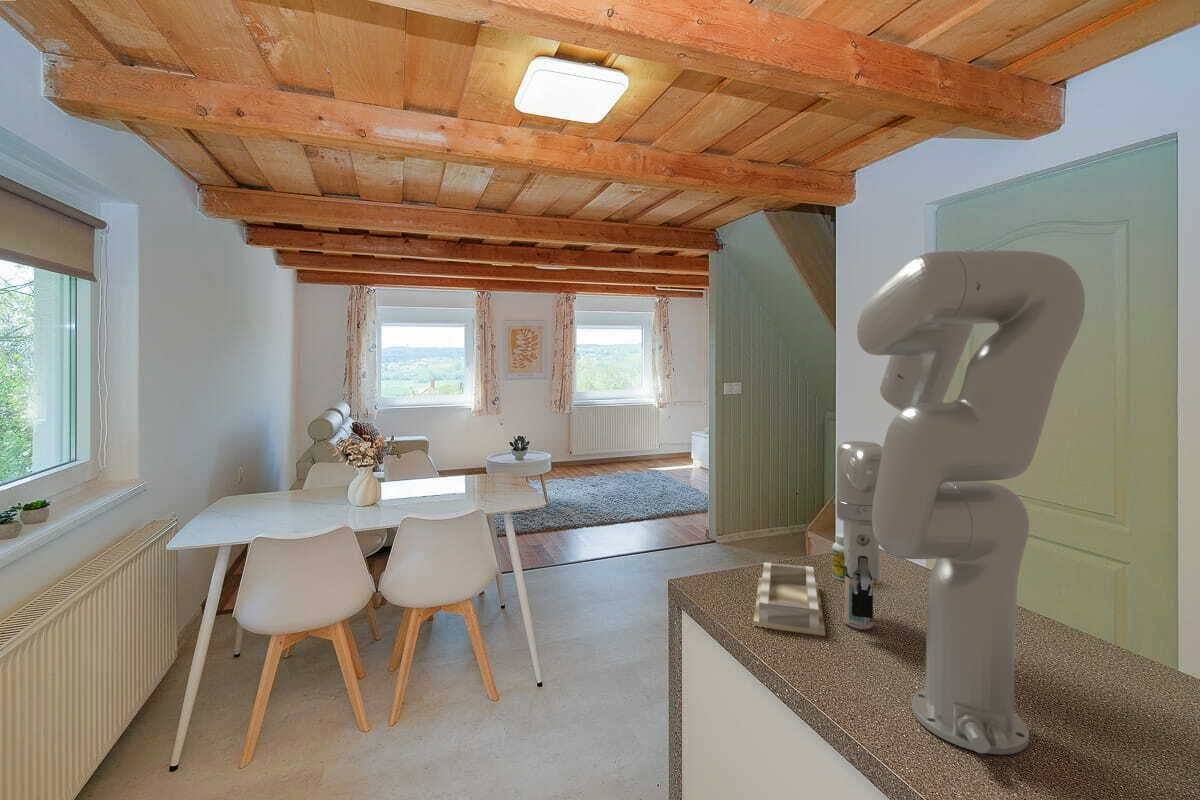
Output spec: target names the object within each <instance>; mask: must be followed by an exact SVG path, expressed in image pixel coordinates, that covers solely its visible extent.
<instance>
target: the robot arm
mask: <svg viewBox="0 0 1200 800" xmlns="http://www.w3.org/2000/svg"><path fill="white" fill-rule="evenodd" d="M1085 309H1086V295H1085V289H1084V285H1083V283H1082V280H1081V278H1080V276H1079V274H1078V273H1077V272H1076V270H1075V269H1074V268H1073V267H1072V265H1070V264H1069V262H1067V261H1065V260H1064V259H1062V258H1059V257H1057V256H1054V255H1051V254H1047V253H1043V252H1038V251H1029V250H1012V249H1011V250H1009V249H1007V250H1002V249H1001V250H967V251H965V250H963V251H961V250H960V251H959V250H956V251H955V250H954V251H953V250H951V251H949V250H947V251H945V250H943V251H935V252H934V251H933V252H927V253H924V254H920V255H919V256H916V257H915V258H913V259H911V260H910V261H909V262H907V263H906V264H904V266H903V267H901V269H899V270H897V272H896V273H895V274H894V275H893V276H892V277H890V278H889V279H888V280H887V281H886V282H884V284H883V285H882V286H881V287H879V289H877V291H875V293H873V294H872V296H871V297H870V299H869V300H868V301H867V302H866V303H865V305H864V307H863V309H862V311H861V312H860V316H859V319H858V321H857V322H858V323H857V325H856V326H857V328H856V336H857V342H858V344H859V346H860V348H861V350H863V351H864V352H865V353H867V354H868V355H874V356H889V360H888V363H887V365H886V368H885V372H884V375H883V378H882V380H881V383H880V388H879V392H880V394H881V395H880V396H882V398H883V400H884V401H885V402H886V403H887V404H889V405H890V406H892V407H893V408H895V409H896V410H898V411H899V412H898V413H897V414H896V415H895V416H894V418H893V419H892V421H891V422H890V424H889V426H888V429H887V430H886V434H885V437H884V438H885V439H884V441H883V445H882V446H881V444H879V443H878V442H877V443H876V442H873V441H866V440H865V441H863V440H862V441H861V440H852V441H851V440H849V441H843V442H842V443H840V444H839V445H838V446H837V450H836V518H837V519H839V520H840V521H842V522H843V532H842V533H843V534H844V558H845V563H846V567H847V572H848V575H849V576H850V577H851V578H852V579H853V587H854V592H852V615H853V616H857V617H865V618H872V616H873V617H874V594H873V595H872V586H871V576H872V579H873V580H874V581H875V582H878V581H879V580H880V579H881V577H880V575H881V574H880V548H882V549H883V551H885V552H886V553H888V554H889V555H890V556H893V557H896V558H899V559H905V560H936V561H935V563H934V565H933V567H932V569H931V571H930V573H929V577H928V580H927V587H926V627H925V631H926V632H925V633H926V634H925V637H926V639H925V688H923V689H921V690H918V691H917V692H915V694H914V695H913V697H912V700H911V709H912V713H913V714H914V717H915V719H916V720H917V721H918V722H919V723H920V724H921V725H922V726H923V727H924V728H925V729H927V730H928V731H929V732H930V733H932V734H934V735H935V736H937V737H939V738H941V739H942V740H944V741H946V742H949V743H951V744H953V745H955V746H957V747H960V748H964V749H967V750H969V751H974V752H976V753H979V754H981V755H982V754H988V755H989V754H990V755H1002V756H1003V755H1012V754H1017V753H1021V752H1022V751H1024V750H1025V749H1026V748H1027V747H1028V745H1029V743H1030V732H1029V731H1030V730H1029V728H1028V726H1027V724H1026V723H1025V722H1024V720H1023V719H1022V718H1021V717H1020V716H1019V715H1018V714H1016V713H1015V709H1014V708H1015V705H1014V704H1015V666H1016V662H1015V661H1016V625H1017V624H1016V622H1017V621H1016V619H1017V603H1018V601H1017V599H1018V584H1019V574H1020V569H1021V564H1022V561H1023V560H1022V559H1023V556H1024V552H1025V549H1026V545H1027V541H1028V538H1029V529H1030V520H1029V514H1028V511H1027V508H1026V506H1025V504H1024V503H1023V501H1022V500H1021V499H1020V497H1019V496H1017V494H1016V493H1015V492H1014V491H1012V490H1010V489H1009V488H1007V487H1005V486H1003V485H1001V484H998V483H997V484H996V483H993V482H989V481H1002V480H1008V479H1013V478H1017V477H1019V476H1021V475H1022V474H1024V473H1025V472H1026V471H1027V470H1028V468H1029V467H1030V466H1031V463H1032V461H1033V459H1034V457H1035V454H1036V451H1037V448H1038V446H1039V441H1040V439H1041V434H1042V431H1043V428H1044V425H1045V421H1046V418H1047V415H1048V412H1049V408H1050V404H1051V401H1052V398H1053V393H1054V390H1055V385H1056V383H1057V380H1058V376H1059V373H1060V371H1061V369H1062V367H1063V364H1064V362H1065V360H1066V358H1067V356H1068V355H1069V352H1070V350H1071V348H1072V346H1073V344H1074V342H1075V340H1076V338H1077V336H1078V333H1079V332H1080V328H1081V325H1082V322H1083V318H1084V314H1085ZM975 324H976V325H977V324H996V325H997V326H998V329H997V330H996V331H994V333H993V334H992V335H990V336H989V337H988V338H987V339H985V341H983V343H982V344H980V347H979V348H978V349H977V350H976V351H975V353H974V354H973V355H972V357H971V358H970V360H969V362H968V365H967V366H966V369H965V374H964V377H963V378H964V379H963V383H962V386H961V390H960V391H959V394H958V396H957V398H956V399H955V400H953V401H952V402H951V401H950V402H944V400H945V397H946V394H947V392H948V390H949V388H950V386H951V385H950V384H951V382H952V380H953V378H954V375H955V373H956V370H957V367H958V365H959V363H960V360H961V358H962V355H963V352H964V351H965V349H966V346H967V344H968V341H969V338H970V336H971V333H972V330H973V327H974V325H975ZM987 481H988V482H987ZM879 546H880V547H879ZM858 562H859V565H858ZM856 574H860V575H856ZM857 581H860V582H859V583H858V584H857Z"/></svg>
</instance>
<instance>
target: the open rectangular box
mask: <svg viewBox="0 0 1200 800" xmlns="http://www.w3.org/2000/svg"><path fill="white" fill-rule="evenodd" d="M762 567H763V568H762V575H761V577H759V578H758V585H757V591H756V599H755V607H754V614H753V620H752V621H753V627H754V626H758V627H757V628H762V627H764V629H769V628H770V629H771V630H776V631H777V630H778V631H784V632H785V631H787V632H793V633H794V632H795V633H802V634H810V635H818V636H822V637H823V636H826V628H825V622H824V621H825V620H824V616H823V615H824V614H823V608H822V601H821V600H822V599H821V593H820V586H819V583H816V578H815V572H814V566H808V565H799V564H798V565H795V564H786V563H785V564H783V563H773V562H763V566H762ZM770 629H769V630H770Z"/></svg>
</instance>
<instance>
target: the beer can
mask: <svg viewBox="0 0 1200 800" xmlns="http://www.w3.org/2000/svg"><path fill="white" fill-rule="evenodd" d="M858 565H859V562H858ZM856 575H860V574H856ZM859 582H860V581H857V584H858V583H859ZM871 586H872V595H873V596H874V579H872V576H871ZM852 592H854V587H853V579H852V578H851V577H850V576H849V575H848V572H847V567H846V563H845V581H844V620H843V621H844V623H845V624H846V625H847V626H848V627H850V628H852V629H855V630H860V631H864V630H868V629H869V630H870V629H871V628H873V627H874V615H873V616H872V618H865V617H857V616H853V615H852Z"/></svg>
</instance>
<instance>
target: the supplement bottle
mask: <svg viewBox="0 0 1200 800" xmlns="http://www.w3.org/2000/svg"><path fill="white" fill-rule="evenodd" d="M843 533H844V532H837V533H836V534H834V535H835V536H834V539H835V542H834V543H833V544H832V546H831V548H832V549H831V550H832V551H831V553H832V555H831V558H832V559H831V561H832V562H831V563H832V564H831V566H832V567H831V568H832V569H831V570H832V572H831V573H832V577H833V578H834V579H835V580H838V581H840V582H845V558H844V534H843Z"/></svg>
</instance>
